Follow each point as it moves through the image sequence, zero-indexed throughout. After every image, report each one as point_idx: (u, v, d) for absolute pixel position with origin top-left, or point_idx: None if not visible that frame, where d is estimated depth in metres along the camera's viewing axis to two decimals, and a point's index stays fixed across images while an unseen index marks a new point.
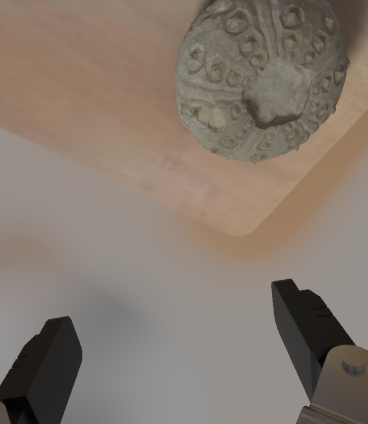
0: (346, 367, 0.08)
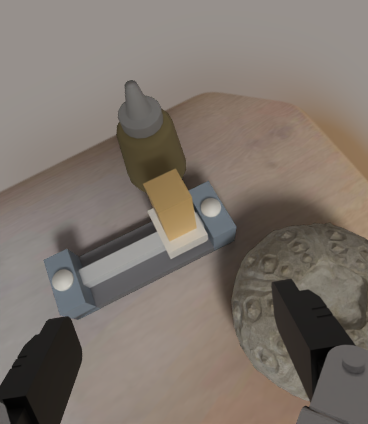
0: (346, 367, 0.08)
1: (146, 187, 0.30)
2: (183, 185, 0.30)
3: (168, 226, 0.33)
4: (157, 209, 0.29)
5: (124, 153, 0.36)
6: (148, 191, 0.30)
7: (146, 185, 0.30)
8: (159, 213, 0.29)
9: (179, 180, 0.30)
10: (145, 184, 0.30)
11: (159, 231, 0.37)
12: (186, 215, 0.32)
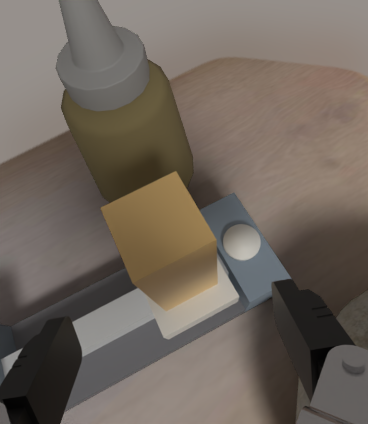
0: (346, 367, 0.08)
1: (108, 216, 0.13)
2: (195, 211, 0.13)
3: (163, 295, 0.15)
4: (132, 272, 0.12)
5: (78, 144, 0.19)
6: (112, 226, 0.13)
7: (108, 212, 0.13)
8: (137, 282, 0.12)
9: (185, 199, 0.13)
10: (106, 209, 0.13)
11: None
12: (200, 272, 0.15)
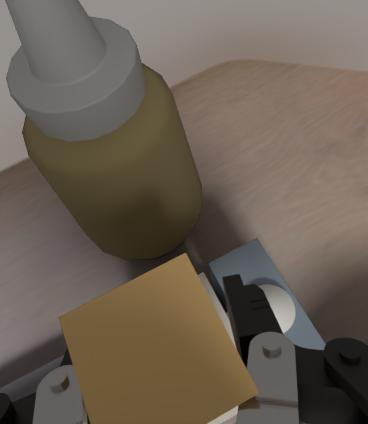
0: (264, 351, 0.09)
1: (71, 335, 0.08)
2: (219, 331, 0.07)
3: None
4: None
5: (48, 181, 0.14)
6: (77, 355, 0.07)
7: (71, 326, 0.08)
8: None
9: (202, 306, 0.08)
10: (68, 320, 0.08)
11: None
12: None
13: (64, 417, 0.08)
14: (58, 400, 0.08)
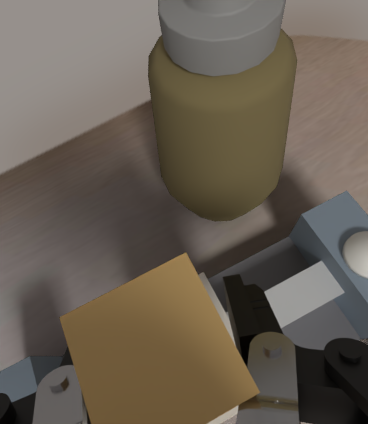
0: (264, 351, 0.09)
1: (71, 335, 0.08)
2: (220, 331, 0.07)
3: None
4: None
5: (167, 126, 0.15)
6: (78, 355, 0.07)
7: (72, 326, 0.08)
8: None
9: (202, 306, 0.08)
10: (69, 320, 0.08)
11: None
12: None
13: (64, 417, 0.08)
14: (58, 400, 0.08)
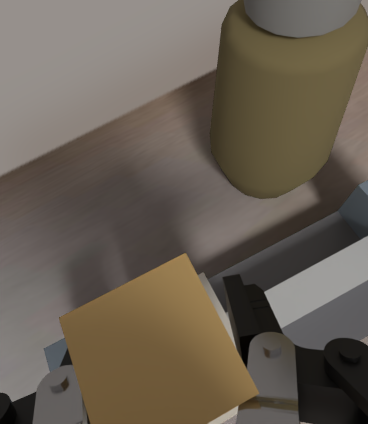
0: (264, 351, 0.09)
1: (71, 335, 0.08)
2: (219, 331, 0.07)
3: None
4: None
5: (238, 93, 0.15)
6: (77, 355, 0.07)
7: (71, 326, 0.08)
8: None
9: (202, 307, 0.08)
10: (68, 321, 0.08)
11: None
12: None
13: (64, 417, 0.08)
14: (58, 400, 0.08)
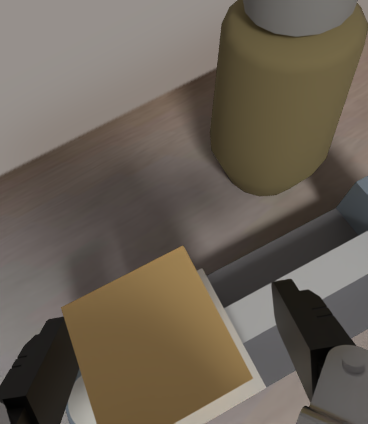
0: (346, 367, 0.08)
1: (73, 324, 0.08)
2: (215, 320, 0.08)
3: None
4: None
5: (238, 91, 0.15)
6: (79, 343, 0.08)
7: (73, 316, 0.08)
8: None
9: (198, 296, 0.08)
10: (70, 310, 0.08)
11: None
12: None
13: None
14: None
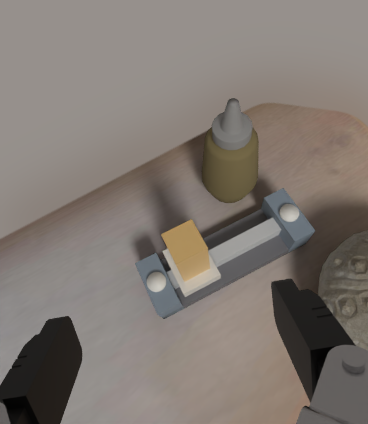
0: (346, 367, 0.08)
1: (164, 238, 0.32)
2: (199, 236, 0.32)
3: (184, 271, 0.34)
4: (175, 260, 0.31)
5: (211, 163, 0.39)
6: (166, 242, 0.32)
7: (164, 236, 0.32)
8: (177, 264, 0.31)
9: (195, 231, 0.32)
10: (163, 235, 0.32)
11: (174, 271, 0.39)
12: (201, 261, 0.34)
13: None
14: None
